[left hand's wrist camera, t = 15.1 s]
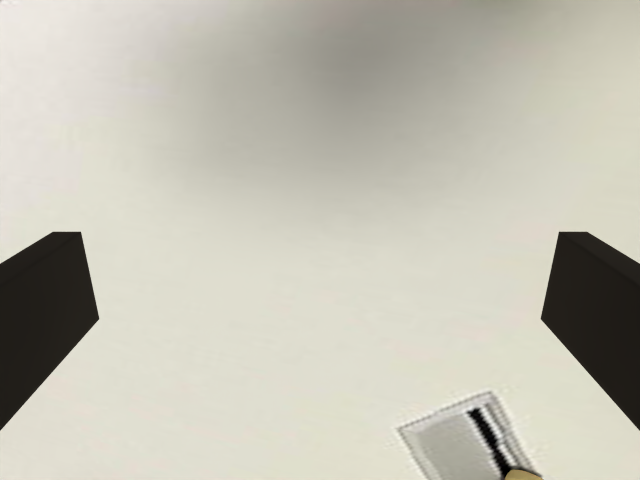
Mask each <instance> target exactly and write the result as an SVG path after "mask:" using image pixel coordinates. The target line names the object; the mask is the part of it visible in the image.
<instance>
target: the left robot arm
mask: <svg viewBox="0 0 640 480" xmlns="http://www.w3.org/2000/svg"><path fill="white" fill-rule="evenodd" d="M98 320H99V315H98V311H97V306H96V301H95V296H94V292H93V287H92V282H91V277H90V273H89V268H88V263H87V258H86V254H85V249H84V244H83V240H82V235H81V232H52V233H50V234H49V235H47V236H45V237H44V238H42V239H40V240H39V241H37V242H35V243H34V244H32V245H30V246H29V247H27V248H26V249H24V250H22V251H21V252H19V253H17V254H16V255H14V256H12V257H11V258H9V259H7V260H6V261H4V262H2V263H1V264H0V430H1V429H2V428H3V427H4V426H5V425H6V424H7V422H8V421H9V420H10V419H11V418H12V417H13V416H14V415H15V413H16V412H17V411H18V410H19V409H20V408H21V407H22V406H23V404H24V403H25V402H26V401H27V400H28V399H29V398H30V396H31V395H32V394H33V393H34V392H35V391H36V390H37V389H38V387H39V386H40V385H41V384H42V383H43V382H44V381H45V380H46V378H47V377H48V376H49V375H50V374H51V373H52V372H53V371H54V369H55V368H56V367H57V366H58V365H59V364H60V363H61V362H62V360H63V359H64V358H65V357H66V356H67V355H68V354H69V352H70V351H71V350H72V349H73V348H74V347H75V346H76V345H77V343H78V342H79V341H80V340H81V339H82V338H83V337H84V336H85V334H86V333H87V332H88V331H89V330H90V329H91V328H92V327H93V325H94V324H95V323H96V322H97V321H98ZM541 320H542V321H543V322H544V323H545V324H546V325H547V327H548V328H549V329H550V330H551V331H552V332H553V333H554V334H555V336H556V337H557V338H558V339H559V340H560V341H561V342H562V343H563V345H564V346H565V347H566V348H567V349H568V350H569V351H570V352H571V354H572V355H573V356H574V357H575V358H576V359H577V360H578V362H579V363H580V364H581V365H582V366H583V367H584V368H585V369H586V371H587V372H588V373H589V374H590V375H591V376H592V377H593V378H594V380H595V381H596V382H597V383H598V384H599V385H600V386H601V387H602V389H603V390H604V391H605V392H606V393H607V394H608V395H609V396H610V398H611V399H612V400H613V401H614V402H615V403H616V404H617V406H618V407H619V408H620V409H621V410H622V411H623V412H624V413H625V415H626V416H627V417H628V418H629V419H630V420H631V421H632V422H633V424H634V425H635V426H636V427H637V428H638V429H639V430H640V264H639V263H638V262H636V261H634V260H633V259H631V258H629V257H628V256H626V255H624V254H623V253H621V252H619V251H618V250H616V249H614V248H613V247H611V246H610V245H608V244H606V243H605V242H603V241H601V240H600V239H598V238H596V237H595V236H593V235H591V234H590V233H588V232H559V235H558V240H557V244H556V249H555V254H554V258H553V263H552V268H551V273H550V277H549V282H548V287H547V292H546V296H545V301H544V306H543V311H542V315H541Z"/></svg>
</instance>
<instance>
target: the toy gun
mask: <svg viewBox="0 0 640 480" xmlns="http://www.w3.org/2000/svg"><path fill="white" fill-rule="evenodd" d="M505 480H543V479H542V478H540V477H538V476H536V475H533V474H531V473H528V472H526V471H522V470H510V472H509V473H508V474H507V476H506V477H505Z"/></svg>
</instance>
